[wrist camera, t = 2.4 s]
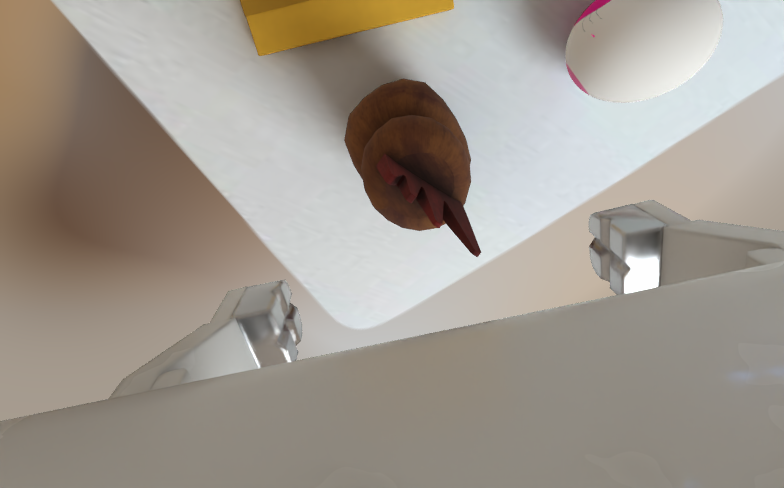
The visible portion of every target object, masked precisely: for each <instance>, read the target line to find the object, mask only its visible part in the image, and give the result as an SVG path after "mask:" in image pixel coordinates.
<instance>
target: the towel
mask: <svg viewBox="0 0 784 488" xmlns="http://www.w3.org/2000/svg"><path fill="white" fill-rule="evenodd" d="M240 2H241V5H242V8H243V11H244V14H245V16H246V18H247V21H248V24H249V27H250V30H251V33H252V36H253V40H254V43H255V46H256V49H257V52H258V55H259V56H263V55H267V54H271V53H275V52H279V51H284V50H288V49H292V48H296V47H300V46H304V45H308V44H312V43H316V42H320V41H325V40H329V39H333V38H337V37H341V36H345V35H349V34H353V33H357V32H361V31H366V30H370V29H374V28H378V27H382V26H386V25H390V24H394V23H398V22H402V21H406V20H411V19H415V18H419V17H423V16H427V15H431V14H435V13H439V12H443V11H447V10H451V9H453V8H454V3H453V0H240Z"/></svg>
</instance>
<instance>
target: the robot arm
mask: <svg viewBox="0 0 784 488" xmlns="http://www.w3.org/2000/svg"><path fill="white" fill-rule="evenodd" d="M589 231H590V232H591V233H592V234H593V235H594V236H595V238H594V240H593V241H592V243H591V244H590V246H589V249H590V259H591V263H592V266H593V268H594V270H595V272H596V274H597V275H598V276H599V277H600V278H601V279H603V280H606V281H609V282H610V288H611V289H612V290H613V291H614V292H615V293H616V294H617V295H616V296H610V297H606V298H601V299H596V300H591V301H586V302H581V303H577V304H571V305H567V306H562V307H557V308H552V309H547V310H542V311H537V312H532V313H527V314H522V315H517V316H513V317H508V318H503V319H498V320H493V321H488V322H483V323H479V324H473V325H468V326H464V327H459V328H454V329H449V330H444V331H439V332H435V333H429V334H424V335H419V336H415V337H410V338H405V339H400V340H395V341H390V342H385V343H380V344H375V345H370V346H365V347H361V348H356V349H351V350H346V351H341V352H336V353H331V354H326V355H321V356H316V357H312V358H307V359H302V360H297V361H296V359H297V355H298V350H297V348H296V345H297V344H298V343H299V342H300V341H301V337H302V323H301V318H300V314H299V312H298V309H297V307H295V306H294V305H293V304H291V303H290V299H291V295H292V293H291V290H290V288H289V285H288V283H287V282H286V281H285V280H280V281H275V282H270V283H265V284H260V285H255V286H250V287H243V288H239V289H235V290H231V291H228V293H227V294H226V296H225V298H224V300H223V301H222V303H221V305H220V306H219V308H218V310H217V311H216V313H215V315H214V316H213V318H212V320H211V322H210V323H208V324H204V325H202V326H201V327H199V328H198V329H196V330H195V331H193V332H192V333H190V334H189V335H187V336H186V337H185V338H183V339H182V340H180V341H179V342H177V343H176V344H174V345H173V346H171V347H170V348H168V349H167V350H165V351H164V352H162V353H161V354H160V355H158V356H157V357H155V358H154V359H152V360H151V361H149V362H148V363H146V364H145V365H143V366H142V367H140V368H139V369H137V370H136V371H134V372H133V373H132V374H130V375H129V376H127V377H126V378H124V379H123V380H122V381H121V383H120V384H119V385H118V387H117V388H116V389H115V391H114V392H113V393H112V395H111V396H110V398H109V399H107V400H102V401H97V402H92V403H87V404H82V405H78V406H72V407H67V408H63V409H58V410H53V411H48V412H43V413H38V414H33V415H29V416H24V417H19V418H14V419H9V420H4V421H0V488H784V231H778V230H771V229H763V228H756V227H748V226H741V225H733V224H726V223H718V222H711V221H703V220H696V221H691V220H689V219H687V218H686V217H683V216H682V215H680V214H678V213H676V212H675V211H673V210H671V209H669V208H667V207H665V206H664V205H662V204H660V203H658V202H656V201H654V200H648V201H644V202H640V203H637V204H630V205H625V206H622V207H618V208H613V209H609V210H604V211H600V212H596V213H593V214H592V215H590V219H589Z"/></svg>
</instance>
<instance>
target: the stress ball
mask: <svg viewBox="0 0 784 488" xmlns="http://www.w3.org/2000/svg"><path fill="white" fill-rule="evenodd" d="M722 27H723V14H722V9H721V6H720V3H719V1H718V0H595V1H594V2H593V3H592V4H591V5H590V6H589V7H588V8H587V9H586V10H585V11H584V12H583V14H582V15H581V16H580V17H579V19H578V20H577V22H576V23H575V25H574V27H573V29H572V31H571V33H570V35H569V38H568V41H567V45H566V57H565V59H566V66H567V69H568V72H569V75H570V77H571V79H572V80H573V81H574V83H575V84H576V85H577V86H578V87H579V88H580V89H581V90H582V91H584V92H585V93H587V94H588V95H590V96H592V97H594V98H597V99H600V100H603V101H608V102H615V103H630V102H639V101H644V100H648V99H651V98H655V97H658V96H660V95H663V94H665V93H667V92H669V91H671V90H673V89H675V88H677V87H679V86H680V85H682V84H683V83H685V82H686V81H687V80H689V79H690V78H691V77H693V76H694V75H695V74H696V73H697V72H698V71H699V70H700V69H701V68H702V67H703V66H704V65H705V64H706V62H707V61H708V60H709V58H710V57H711V56H712V54H713V53H714V51H715V49H716V47H717V45H718V43H719V40H720V37H721V33H722Z"/></svg>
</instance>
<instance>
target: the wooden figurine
mask: <svg viewBox="0 0 784 488" xmlns="http://www.w3.org/2000/svg"><path fill="white" fill-rule="evenodd" d="M344 141H345V143H346V146H347V149H348V151H349V154H350V157H351V159H352V162H353V164H354V166H355V168H356V170H357V171H358V173H359V174H360V176H361V178H362V179H363V182H364V188H365V191H366V193H367V195H368V197H369V199H370V201H371V203H372V205H373V206H374V208H375V209H376V210H377V211H378V212H379V213H381V214H382V215H383V216H384V217H385V218H386V219H387V220H389V221H391V222H392V223H394V224H396V225H398V226H400V227H402V228H407V229H412V230H418V231H422V230H428V229H434V228H440V226H442V225H444V224H447V225H448V226H449V228H450V229H451V230H452V231H453V232H454V233H455V235H456V236H457V237H458V238H459V239H460V240H461V242H462V243H463V244H464V245H465V246H466V247H467V249H468V250H469V251H470V252H471V253H472V254H473V255H475V256H476V257H478V256H479V254H480V253H481V251H480V248H479V246H478V243H477V240H476V238H475V235H474V233H473V230H472V227H471V225H470V222H469V220H468V217H467V214H466V212H465V210H464V207H463V205H464V204H465V201H466V198H467V194H468V190H469V187H470V183H471V176H470V162H471V158H470V154H469V150H468V146H467V141H466V138H465V136H464V134H463V132H462V130H461V128H460V126H459V124H458V121H457V120H456V118H455V116H454V115H453V113H452V112H451V110H450V109H449V107H448V106H447V105H446V103H445V102H444V100H443V99H442V98H441V97H440V96H439V95H438V94H437V93H436V92H435V91H434V90H432V89H431V88H430V87H429V86H428V85H427V84H426V83H424V82H419V81H413V80H407V79H401V80H397V81H394V82H391V83H387V84H384V85H381V86H380V87H378V88H377V89H376V90H374V91H373V92H372V93H370V94H369V95H367V96H366V97H365V98H364V99H363V100H362V101H361V102H360V103H359V104H358V106H357V107H356V108H355V109H354V110H353V111H352V112H351V114H350V115H349V118H348V123H347V128H346V134H345V139H344Z"/></svg>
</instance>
